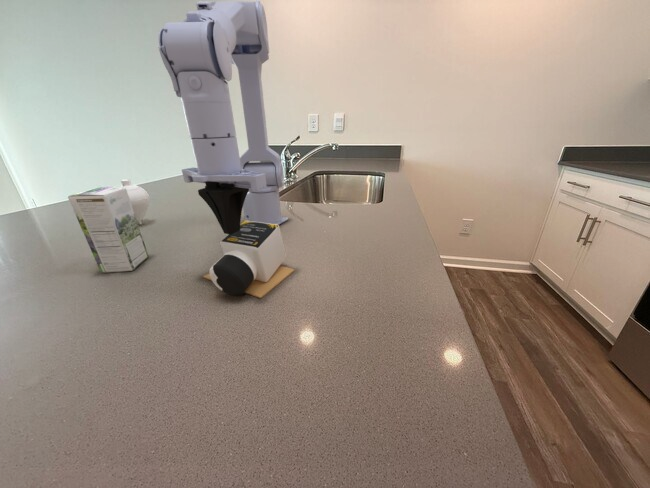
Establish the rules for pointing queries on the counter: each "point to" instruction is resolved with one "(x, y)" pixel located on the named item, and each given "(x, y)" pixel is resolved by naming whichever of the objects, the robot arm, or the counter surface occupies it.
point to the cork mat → (263, 288)
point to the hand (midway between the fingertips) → (232, 231)
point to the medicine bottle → (248, 257)
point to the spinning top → (137, 199)
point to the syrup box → (110, 228)
